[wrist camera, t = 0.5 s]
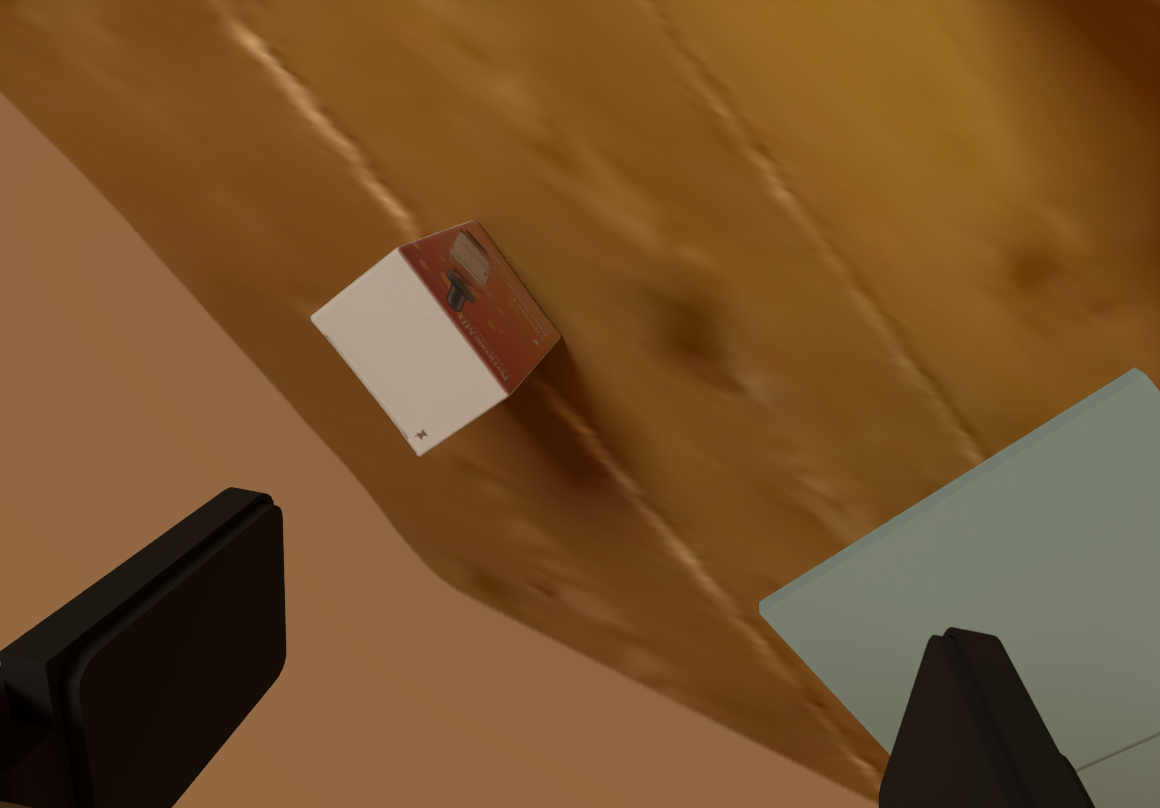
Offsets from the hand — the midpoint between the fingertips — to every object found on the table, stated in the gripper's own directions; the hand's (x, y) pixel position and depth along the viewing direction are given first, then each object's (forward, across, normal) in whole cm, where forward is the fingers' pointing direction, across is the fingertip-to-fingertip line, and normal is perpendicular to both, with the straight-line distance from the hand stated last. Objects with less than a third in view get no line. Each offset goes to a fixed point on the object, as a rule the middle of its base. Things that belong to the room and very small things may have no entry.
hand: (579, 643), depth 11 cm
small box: (+32, +11, +4) cm, 34 cm away
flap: (+19, -20, +14) cm, 31 cm away
